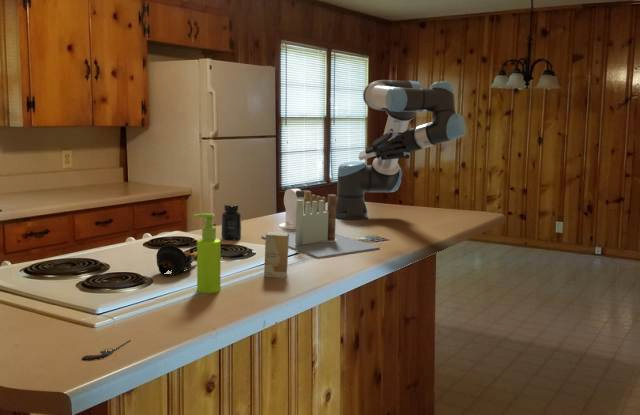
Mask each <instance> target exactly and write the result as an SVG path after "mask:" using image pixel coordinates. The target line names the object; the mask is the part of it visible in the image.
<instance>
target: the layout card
mask: <svg viewBox="0 0 640 415" xmlns="http://www.w3.org/2000/svg"><path fill="white" fill-rule="evenodd" d="M288 233H289V244H288V249H292V250H293V251H297V252H299V253H302V254H305V255H307V256H310V257H313V258H314V259H315V258H316V259H324V258H331V257H337V256H342V255H343V256H344V255H350V254H357V253H363V252H369V251H376V250H380V248H381V247H380V246H376V245H373V244H370V243H367V242H363V241H360V240H357V239H355V238H351V237H347V236H344V235H341V234H337V233H335V240H334V241H328V240H326V241H320V242H314V243H308V244H302V245H296V244H295V237H296V231H291V232H288ZM261 238H262V239H264V240H266V235H261Z"/></svg>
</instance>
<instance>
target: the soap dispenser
mask: <svg viewBox="0 0 640 415" xmlns="http://www.w3.org/2000/svg"><path fill="white" fill-rule="evenodd" d="M192 217H193V218H205V225H204V226H202V231H201V232H202V233H201V234H202V235H201V238H200V239H198V240H196V241H197V243H196V251H197V257H196V258H197V259H196V261H197V262H196V266H197V267H196V268H197V270H196V271H197V272H196V276H197V277H196V279H197V281H196V289H197V292H198V293H202V294H215V293H218V292H220V291H221V259H222V258H221V256H222V255H221V254H222V253H221V242H222V241H221V239H219V238H216V237H217V236H216V235H217V232H216V230H217V228H216V226H214V225H213V218H215V217H216V215H215V213H208V212H207V213H206V212H202V213H201V212H200V213H196V214H192Z"/></svg>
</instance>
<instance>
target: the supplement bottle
mask: <svg viewBox="0 0 640 415" xmlns="http://www.w3.org/2000/svg"><path fill="white" fill-rule="evenodd" d="M223 208H224V209H223V210H224V212H222V213H221V239H223V240H226V241H236V240H240V239H241V238H242V214H241V212H239V205H238V204H237V203H225V204H224V206H223Z"/></svg>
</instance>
